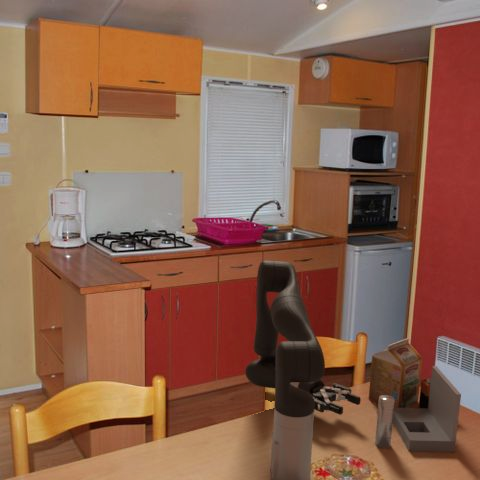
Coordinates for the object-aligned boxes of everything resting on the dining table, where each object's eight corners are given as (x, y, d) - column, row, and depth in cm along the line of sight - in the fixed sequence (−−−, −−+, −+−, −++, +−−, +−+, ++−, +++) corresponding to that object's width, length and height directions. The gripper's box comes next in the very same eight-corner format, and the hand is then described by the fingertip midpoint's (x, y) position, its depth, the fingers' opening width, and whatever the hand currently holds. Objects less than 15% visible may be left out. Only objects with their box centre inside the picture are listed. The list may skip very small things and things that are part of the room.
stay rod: (377, 448, 155) (381, 401, 152) (373, 440, 159) (377, 394, 156) (392, 448, 155) (396, 402, 152) (388, 440, 159) (392, 395, 156)
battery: (446, 413, 175) (449, 381, 174) (424, 414, 174) (428, 382, 172) (438, 406, 180) (442, 375, 178) (418, 407, 178) (421, 376, 177)
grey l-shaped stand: (408, 450, 154) (414, 393, 151) (389, 417, 172) (394, 365, 169) (454, 451, 154) (461, 394, 151) (431, 418, 172) (436, 366, 169)
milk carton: (397, 411, 175) (403, 351, 172) (368, 398, 183) (373, 340, 179) (417, 402, 182) (423, 343, 178) (388, 389, 190) (393, 333, 186)
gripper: (289, 381, 167) (337, 401, 157) (319, 368, 178) (366, 385, 167) (287, 406, 169) (335, 427, 158) (317, 391, 179) (364, 410, 168)
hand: (351, 406), depth 162 cm, fingers open, 8 cm apart
